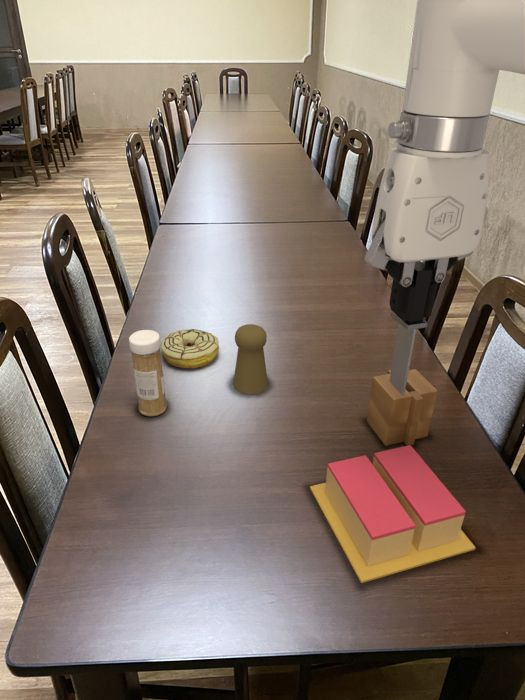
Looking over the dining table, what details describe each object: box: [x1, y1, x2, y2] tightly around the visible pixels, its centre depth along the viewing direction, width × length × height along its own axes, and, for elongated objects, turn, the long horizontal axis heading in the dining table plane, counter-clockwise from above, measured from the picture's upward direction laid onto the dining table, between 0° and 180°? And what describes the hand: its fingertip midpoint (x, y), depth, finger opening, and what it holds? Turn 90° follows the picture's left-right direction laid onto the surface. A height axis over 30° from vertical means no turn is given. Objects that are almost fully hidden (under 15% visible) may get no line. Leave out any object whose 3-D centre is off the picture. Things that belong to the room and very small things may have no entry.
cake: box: [309, 445, 476, 584], centre depth 66 cm, size 15×15×5 cm
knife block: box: [366, 368, 438, 446], centre depth 80 cm, size 7×8×8 cm
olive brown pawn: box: [232, 323, 269, 396], centre depth 89 cm, size 6×6×11 cm
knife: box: [389, 261, 433, 395], centre depth 60 cm, size 2×4×16 cm, turn 18°
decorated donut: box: [160, 328, 220, 369], centre depth 99 cm, size 10×11×4 cm
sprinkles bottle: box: [128, 329, 168, 417], centre depth 83 cm, size 5×5×14 cm
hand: (410, 312), depth 58 cm, fingers closed on knife, 1 cm apart
